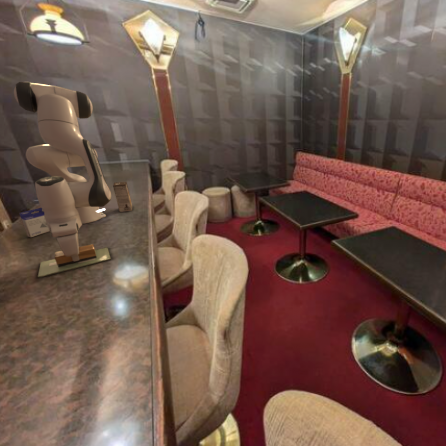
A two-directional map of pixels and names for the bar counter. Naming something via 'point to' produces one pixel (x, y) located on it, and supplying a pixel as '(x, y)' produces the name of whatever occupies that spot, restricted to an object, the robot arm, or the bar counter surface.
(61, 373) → the bar counter surface
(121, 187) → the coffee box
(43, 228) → the ink box
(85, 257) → the eraser
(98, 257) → the chalk board
